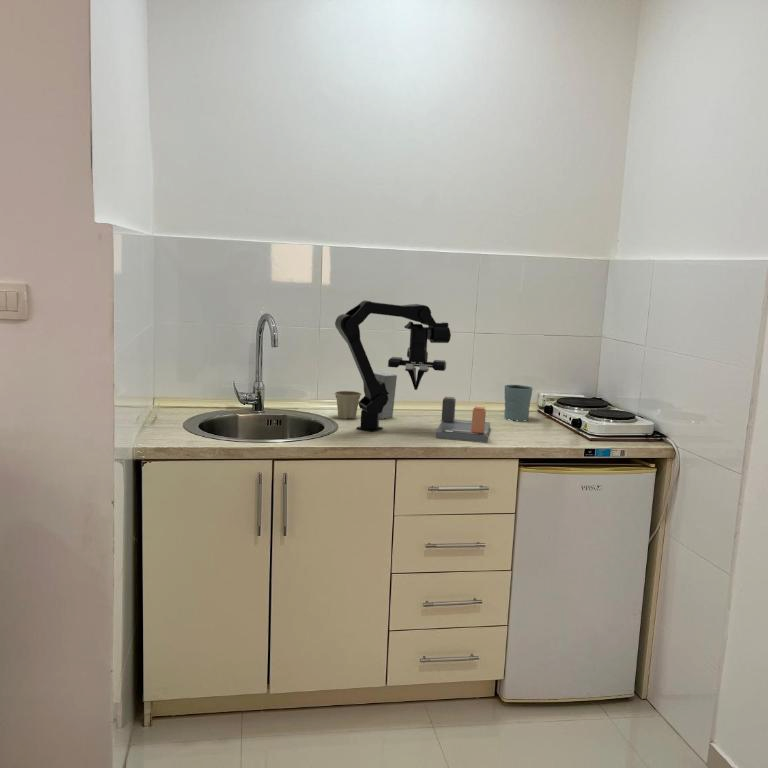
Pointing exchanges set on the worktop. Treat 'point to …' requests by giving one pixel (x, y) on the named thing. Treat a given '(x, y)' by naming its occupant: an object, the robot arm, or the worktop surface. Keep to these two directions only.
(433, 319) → the robot arm
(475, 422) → the switch knob
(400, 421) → the worktop surface
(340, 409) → the flower pot
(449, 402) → the switch knob
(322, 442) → the worktop surface
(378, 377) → the grey vase
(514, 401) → the blue-grey tapered cup
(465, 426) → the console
